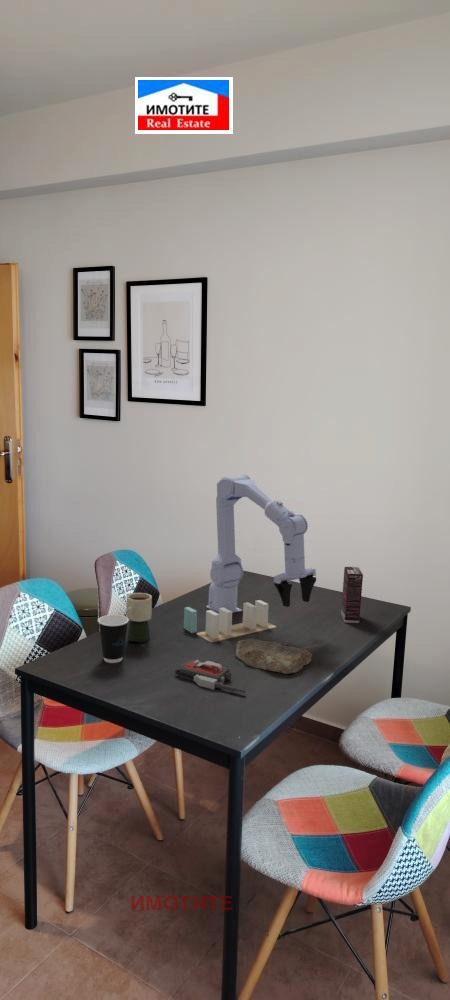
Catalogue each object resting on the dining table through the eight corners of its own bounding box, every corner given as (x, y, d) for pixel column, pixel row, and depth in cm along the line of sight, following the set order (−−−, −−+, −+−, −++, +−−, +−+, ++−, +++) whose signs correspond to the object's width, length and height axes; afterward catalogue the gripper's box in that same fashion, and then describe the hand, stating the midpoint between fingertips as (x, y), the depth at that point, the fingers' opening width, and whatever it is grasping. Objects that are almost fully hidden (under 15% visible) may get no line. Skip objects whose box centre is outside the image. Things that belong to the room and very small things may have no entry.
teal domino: (191, 635, 204) (192, 612, 203) (183, 630, 207) (184, 607, 206) (196, 634, 205) (197, 611, 204) (188, 629, 208) (188, 606, 207)
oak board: (195, 635, 204) (195, 633, 204) (260, 620, 218) (260, 618, 217) (211, 644, 197) (211, 642, 197) (276, 628, 211) (276, 626, 211)
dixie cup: (121, 667, 180) (122, 626, 178) (93, 663, 182) (93, 622, 180) (132, 655, 188) (133, 616, 186) (104, 651, 190) (105, 612, 188)
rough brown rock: (223, 661, 187) (289, 679, 177) (223, 643, 187) (290, 661, 176) (249, 646, 199) (313, 662, 189) (250, 629, 198) (314, 645, 188)
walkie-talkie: (169, 680, 175) (243, 699, 166) (170, 663, 174) (243, 681, 165) (187, 667, 182) (257, 684, 174) (187, 651, 182) (258, 668, 173)
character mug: (138, 631, 205) (139, 589, 202) (159, 636, 202) (160, 593, 199) (117, 644, 195) (117, 599, 193) (138, 649, 192) (139, 604, 190)
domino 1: (214, 638, 200) (214, 615, 199) (205, 633, 203) (206, 610, 202) (218, 637, 201) (219, 614, 200) (210, 632, 204) (210, 609, 203)
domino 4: (263, 627, 210) (264, 604, 209) (254, 622, 214) (255, 600, 213) (267, 626, 211) (268, 604, 210) (258, 621, 215) (259, 599, 213)
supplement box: (360, 623, 218) (363, 574, 215) (344, 623, 218) (347, 573, 215) (355, 614, 226) (358, 566, 224) (340, 613, 227) (343, 566, 224)
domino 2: (226, 635, 203) (227, 612, 201) (218, 631, 206) (218, 608, 205) (231, 634, 203) (232, 611, 202) (222, 629, 207) (223, 607, 206)
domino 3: (251, 630, 208) (252, 607, 206) (242, 625, 211) (243, 603, 210) (255, 629, 209) (256, 606, 207) (246, 624, 212) (247, 602, 211)
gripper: (284, 563, 195) (286, 610, 196) (322, 555, 203) (324, 601, 205) (268, 560, 201) (270, 606, 202) (305, 552, 209) (307, 597, 210)
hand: (296, 603), depth 204 cm, fingers open, 7 cm apart
